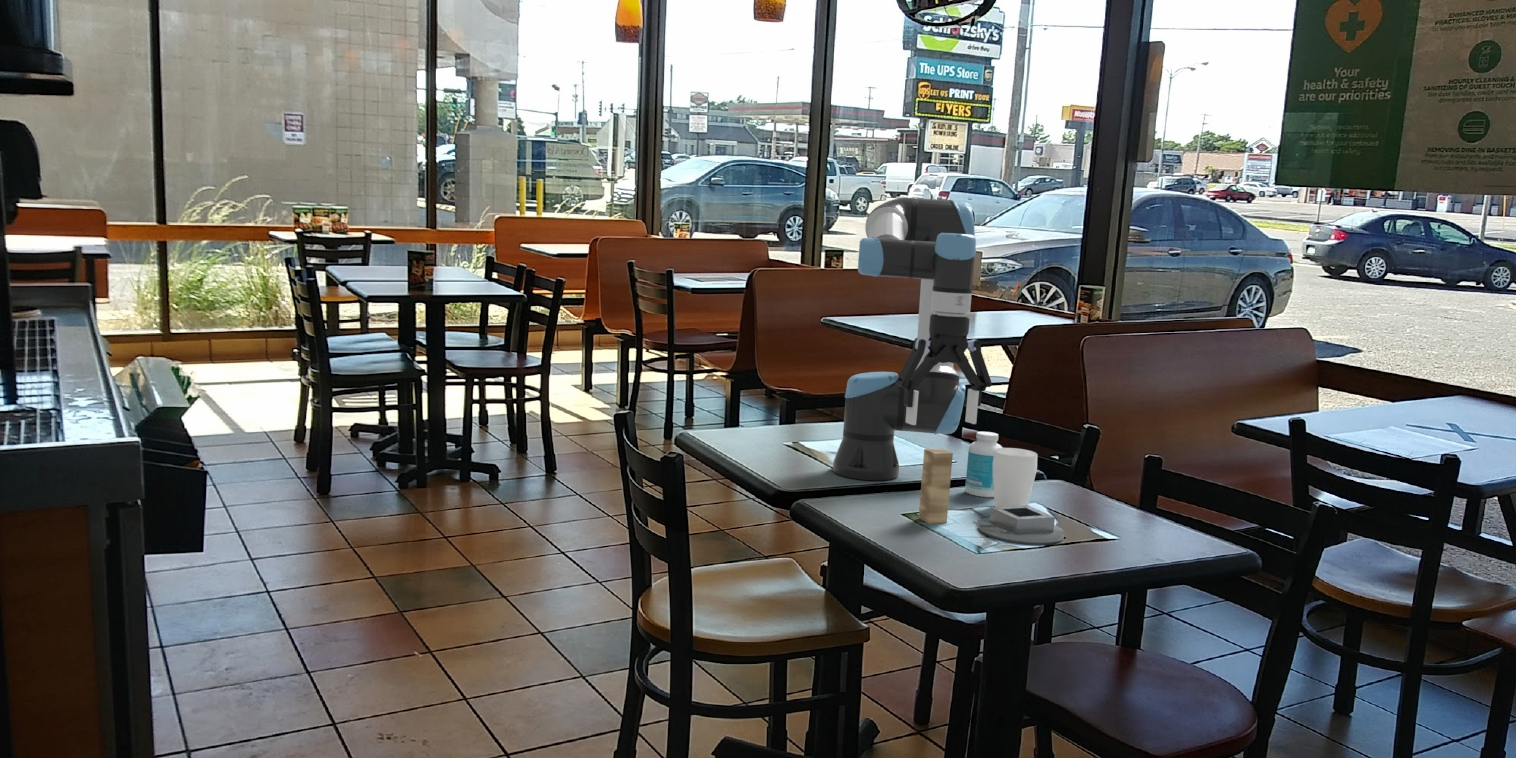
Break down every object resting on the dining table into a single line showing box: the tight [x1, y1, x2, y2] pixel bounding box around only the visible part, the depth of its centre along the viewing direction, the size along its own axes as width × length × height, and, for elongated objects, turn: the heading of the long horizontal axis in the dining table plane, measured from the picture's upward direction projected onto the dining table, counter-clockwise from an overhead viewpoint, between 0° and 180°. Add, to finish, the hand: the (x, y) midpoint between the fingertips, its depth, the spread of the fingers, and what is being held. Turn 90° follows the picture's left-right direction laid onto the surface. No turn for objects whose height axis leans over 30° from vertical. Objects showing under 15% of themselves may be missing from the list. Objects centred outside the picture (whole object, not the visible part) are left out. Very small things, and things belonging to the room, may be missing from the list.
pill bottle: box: [964, 431, 1003, 498], centre depth 248 cm, size 8×7×14 cm
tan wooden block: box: [918, 448, 954, 525], centre depth 223 cm, size 4×4×14 cm
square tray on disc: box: [978, 504, 1065, 546], centre depth 219 cm, size 16×16×4 cm
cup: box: [993, 447, 1038, 507], centre depth 237 cm, size 9×9×12 cm
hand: (941, 423), depth 221 cm, fingers open, 13 cm apart
